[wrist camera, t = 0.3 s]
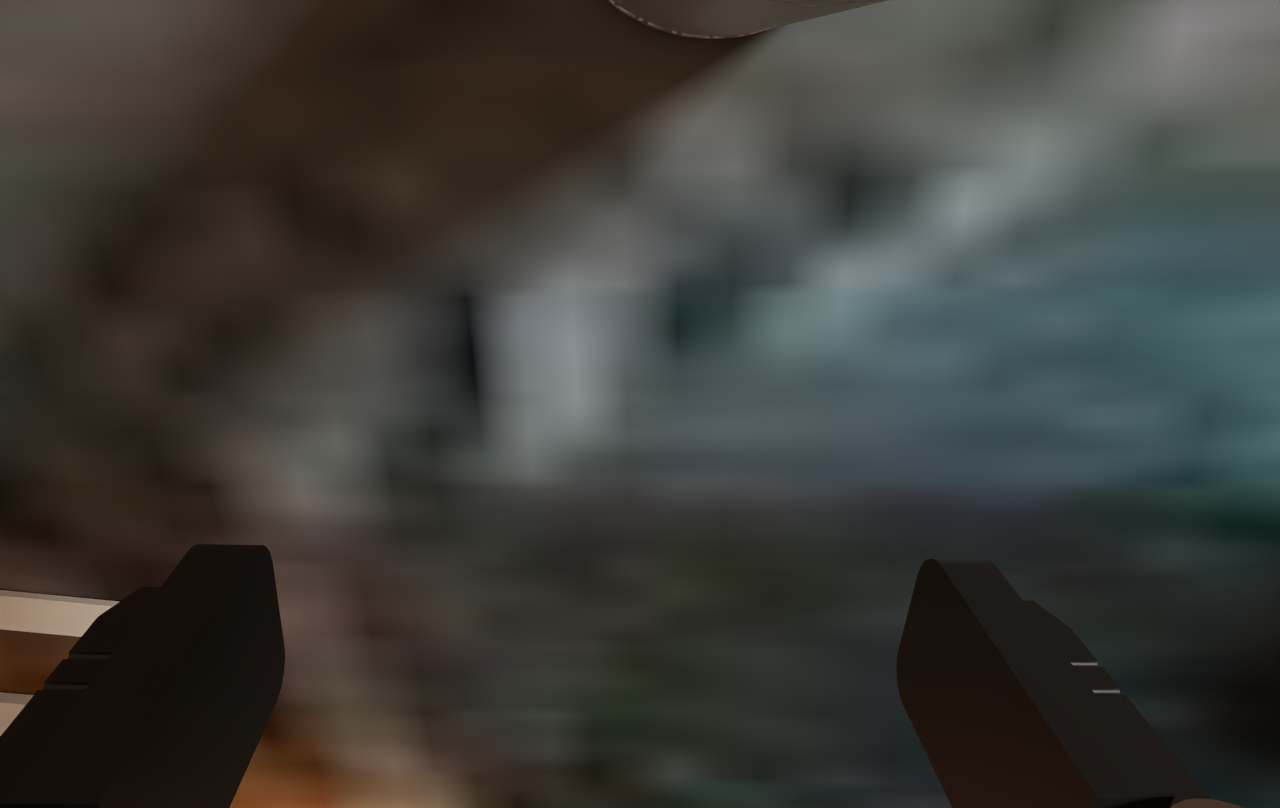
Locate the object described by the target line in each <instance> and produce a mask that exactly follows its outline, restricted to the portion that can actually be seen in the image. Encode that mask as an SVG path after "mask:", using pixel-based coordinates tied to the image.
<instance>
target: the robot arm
mask: <svg viewBox="0 0 1280 808" xmlns="http://www.w3.org/2000/svg"><path fill="white" fill-rule="evenodd" d="M607 1H608V2H609V3H611V4H612V5H613V6H614V7H615V8H616V9H618V10H619V11H620V12H622V13H624V14H626V15H628V16H630V17H632V18H633V19H635V20H637V21H639V22H641V23H643V24H645V25H646V26H648V27H650V28H653V29H657V30H660V31H664V32H668V33H671V34H675V35H679V36H683V37H693V38H702V39H711V38H716V39H726V38H734V37H741V36H747V35H751V34H755V33H759V32H762V31H766V30H769V29H773V28H775V27H778V26H783V25H787V24H791V23H795V22H799V21H804V20H808V19H812V18H816V17H820V16H825V15H829V14H833V13H837V12H841V11H846V10H850V9H854V8H858V7H862V6H867V5H871V4H875V3H879V2H883V1H888V0H607ZM284 662H285V650H284V641H283V634H282V627H281V619H280V612H279V605H278V598H277V591H276V583H275V576H274V569H273V562H272V558H271V554H270V552H269V550H268V548H267V547H266V546H264V545H218V544H197V545H194V546H193V547H192V548H190V550H189V551H188V552H187V553H186V555H185V556H184V557H183V559H182V560H181V561H180V563H179V564H178V565H177V567H176V568H175V569H174V571H173V572H172V573H171V575H170V576H169V577H168V579H167V580H166V581H165V583H164V584H163V585H162V587H141V588H139V589H138V590H136V591H135V592H133V593H132V594H130V595H129V596H128V597H126V598H125V599H123V600H122V601H120V602H119V603H117V604H116V605H114V606H113V607H111V608H110V609H108V610H107V611H105V612H104V613H103V614H101V615H100V616H98V617H97V618H96V620H95V621H94V622H93V623H92V624H91V626H90V627H89V628H88V629H87V631H86V632H85V633H84V634H83V635H82V637H81V638H80V639H79V640H78V642H77V643H76V644H75V645H74V647H73V648H72V649H71V650H70V651H69V657H68V659H63V660H62V661H61V662H60V664H59V665H58V666H57V667H56V669H55V670H54V671H53V672H52V674H51V675H50V676H49V677H48V678H47V680H46V681H45V682H44V683H45V685H44V689H43V690H38V691H37V692H36V693H35V694H34V696H33V697H32V698H31V699H30V701H29V702H28V703H27V704H26V705H25V707H24V708H23V709H22V710H21V712H20V713H19V714H18V715H17V717H16V718H15V719H14V720H13V721H12V723H11V724H10V725H9V726H8V728H7V729H6V730H5V731H4V733H3V734H2V735H1V736H0V808H229V807H230V805H231V803H232V801H233V798H234V796H235V794H236V792H237V789H238V787H239V785H240V783H241V780H242V778H243V776H244V774H245V771H246V769H247V767H248V765H249V762H250V760H251V758H252V756H253V754H254V751H255V749H256V747H257V745H258V742H259V740H260V738H261V736H262V733H263V731H264V729H265V727H266V724H267V722H268V720H269V718H270V715H271V713H272V711H273V709H274V707H275V704H276V702H277V699H278V696H279V693H280V689H281V685H282V680H283V673H284ZM897 683H898V689H899V693H900V697H901V700H902V703H903V705H904V708H905V710H906V712H907V714H908V716H909V718H910V720H911V722H912V725H913V727H914V729H915V731H916V733H917V735H918V737H919V739H920V741H921V743H922V745H923V747H924V750H925V752H926V754H927V756H928V758H929V760H930V762H931V764H932V766H933V768H934V770H935V772H936V775H937V777H938V779H939V781H940V783H941V785H942V787H943V789H944V791H945V793H946V795H947V798H948V800H949V802H950V804H951V806H952V808H1242V807H1239V806H1237V805H1234V804H1230V803H1226V802H1223V801H1218V800H1212V799H1210V798H1209V796H1208V795H1207V794H1206V793H1205V792H1204V790H1203V789H1202V788H1201V787H1200V785H1199V784H1198V783H1197V782H1196V781H1195V779H1194V778H1193V777H1192V776H1191V774H1190V773H1189V772H1188V771H1187V770H1186V768H1185V767H1184V766H1183V765H1182V764H1181V762H1180V761H1179V760H1178V759H1177V757H1176V756H1175V755H1174V754H1173V753H1172V751H1171V750H1170V749H1169V748H1168V746H1167V745H1166V744H1165V743H1164V742H1163V740H1162V739H1161V738H1160V737H1159V735H1158V734H1157V733H1156V732H1155V731H1154V729H1153V728H1152V727H1151V726H1150V724H1149V723H1148V722H1147V721H1146V720H1145V718H1144V717H1143V716H1142V715H1141V713H1140V712H1139V711H1138V710H1137V709H1136V707H1135V706H1134V705H1133V704H1132V702H1131V701H1130V700H1129V699H1128V698H1127V696H1126V695H1121V694H1120V688H1119V687H1118V685H1117V684H1116V683H1115V682H1114V680H1113V679H1112V678H1111V677H1110V676H1109V674H1108V673H1107V672H1106V671H1105V669H1104V668H1101V667H1098V665H1097V660H1096V659H1095V657H1094V656H1093V655H1092V654H1091V652H1090V651H1089V650H1088V649H1087V648H1086V646H1085V645H1084V644H1083V643H1082V641H1081V640H1080V639H1079V638H1078V637H1077V635H1076V634H1075V633H1074V632H1073V630H1072V629H1071V628H1069V627H1068V626H1067V625H1065V624H1064V623H1063V622H1061V621H1060V620H1058V619H1057V618H1056V617H1054V616H1053V615H1052V614H1050V613H1049V612H1047V611H1046V610H1045V609H1043V608H1042V607H1040V606H1039V605H1038V604H1036V603H1035V602H1034V601H1023V600H1022V599H1021V598H1020V596H1019V595H1018V594H1017V593H1016V591H1015V590H1014V589H1013V587H1012V586H1011V585H1010V584H1009V582H1008V581H1007V580H1006V578H1005V577H1004V576H1003V574H1002V573H1001V572H1000V571H999V569H998V568H997V567H996V566H995V565H994V564H993V563H992V562H990V561H988V560H963V559H928V560H926V561H925V562H924V563H923V564H922V566H921V567H920V570H919V572H918V575H917V579H916V583H915V587H914V591H913V595H912V599H911V603H910V607H909V611H908V615H907V619H906V623H905V627H904V631H903V635H902V639H901V643H900V647H899V651H898V656H897Z"/></svg>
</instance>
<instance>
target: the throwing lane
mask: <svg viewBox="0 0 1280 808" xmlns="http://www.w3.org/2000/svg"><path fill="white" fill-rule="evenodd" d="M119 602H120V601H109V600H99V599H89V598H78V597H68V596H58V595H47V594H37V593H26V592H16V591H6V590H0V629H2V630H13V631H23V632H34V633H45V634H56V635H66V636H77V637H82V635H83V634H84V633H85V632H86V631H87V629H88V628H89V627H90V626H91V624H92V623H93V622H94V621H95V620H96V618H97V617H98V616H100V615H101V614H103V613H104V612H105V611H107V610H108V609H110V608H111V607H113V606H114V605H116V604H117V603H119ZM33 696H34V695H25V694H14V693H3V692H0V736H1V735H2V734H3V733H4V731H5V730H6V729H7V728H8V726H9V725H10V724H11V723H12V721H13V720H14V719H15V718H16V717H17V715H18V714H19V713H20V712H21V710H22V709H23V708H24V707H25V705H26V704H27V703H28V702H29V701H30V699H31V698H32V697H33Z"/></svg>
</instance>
